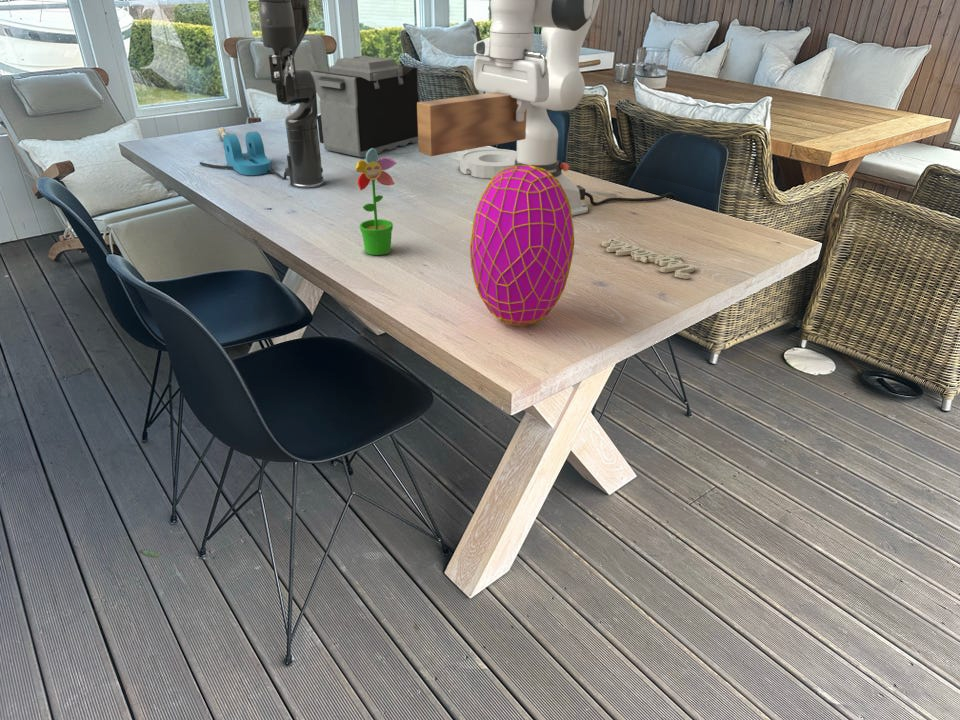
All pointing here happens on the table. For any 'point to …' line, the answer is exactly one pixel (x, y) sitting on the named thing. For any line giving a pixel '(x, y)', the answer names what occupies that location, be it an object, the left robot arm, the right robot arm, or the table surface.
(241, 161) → the camera mount
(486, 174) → the ashtray
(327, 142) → the electronic device
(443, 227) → the table surface
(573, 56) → the right robot arm
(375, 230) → the potted flower
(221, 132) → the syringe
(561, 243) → the decorative egg
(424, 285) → the table surface
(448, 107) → the bar
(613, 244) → the decorative sign
